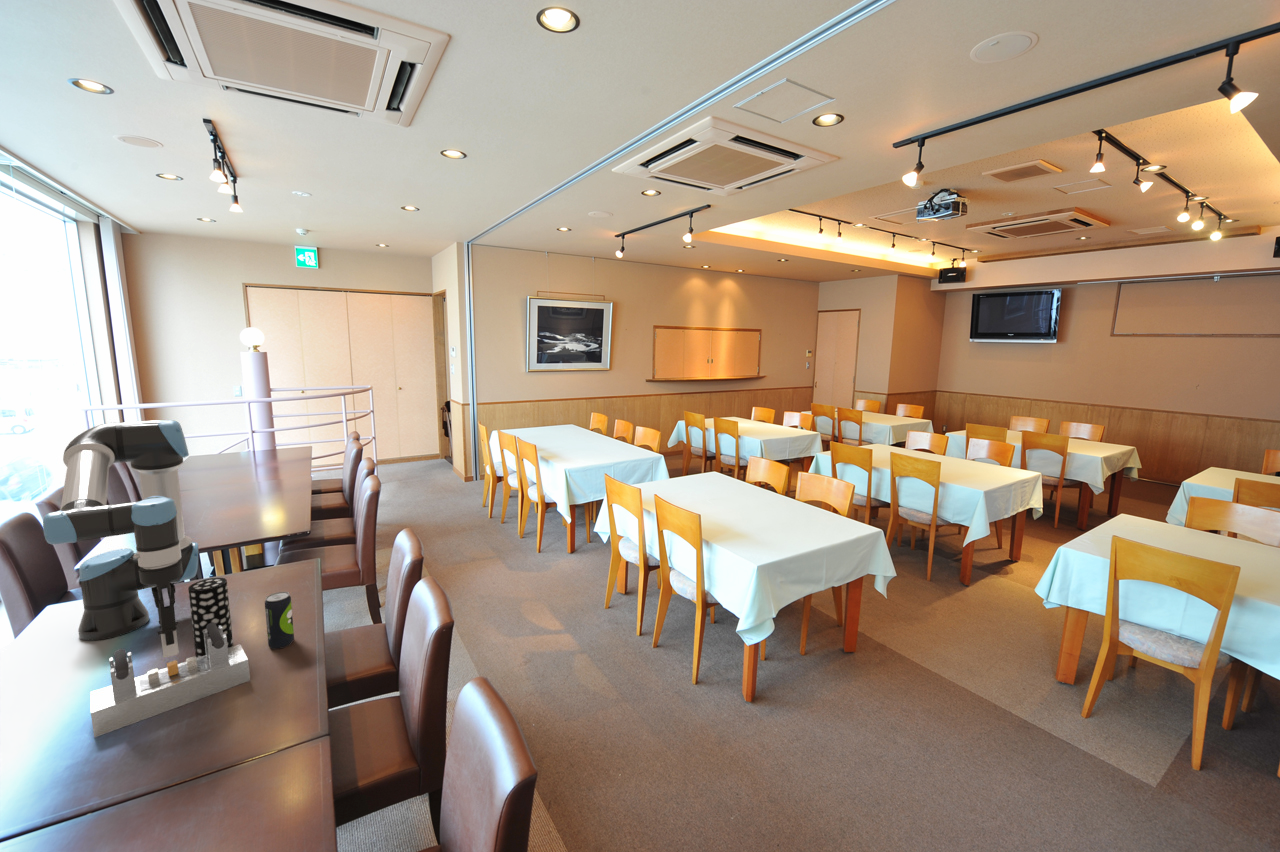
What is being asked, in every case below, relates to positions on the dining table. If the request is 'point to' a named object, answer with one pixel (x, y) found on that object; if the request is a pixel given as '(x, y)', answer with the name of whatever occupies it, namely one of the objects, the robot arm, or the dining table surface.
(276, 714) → the dining table surface
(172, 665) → the breaker paddle
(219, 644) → the dark grey rod
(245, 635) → the dining table surface
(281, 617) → the beverage can
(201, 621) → the spotted tube
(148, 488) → the robot arm
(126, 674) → the dark grey bar handle
